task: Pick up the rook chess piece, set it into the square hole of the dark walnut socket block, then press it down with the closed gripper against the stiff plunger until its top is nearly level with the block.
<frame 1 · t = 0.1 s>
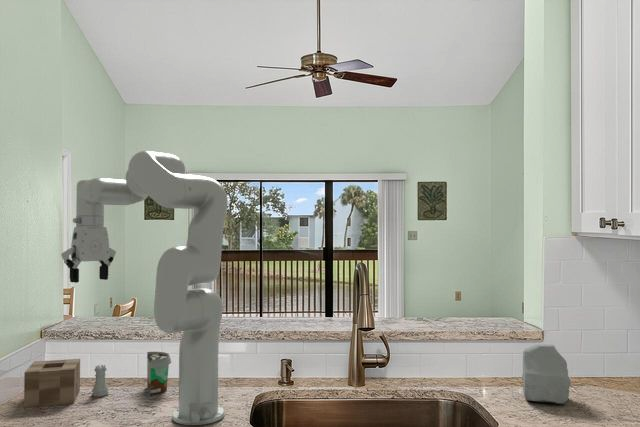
hand: (89, 280, 164), 31 cm above the countertop, tool pointing down, fingers open, 9 cm apart
food container: (159, 390, 161), on the countertop
plunger: (53, 383, 153), point 4 cm above the countertop, slide at 0.0 cm
socket block: (53, 398, 153), on the countertop
stone: (545, 400, 153), on the countertop
rook chess piece: (100, 395, 157), on the countertop
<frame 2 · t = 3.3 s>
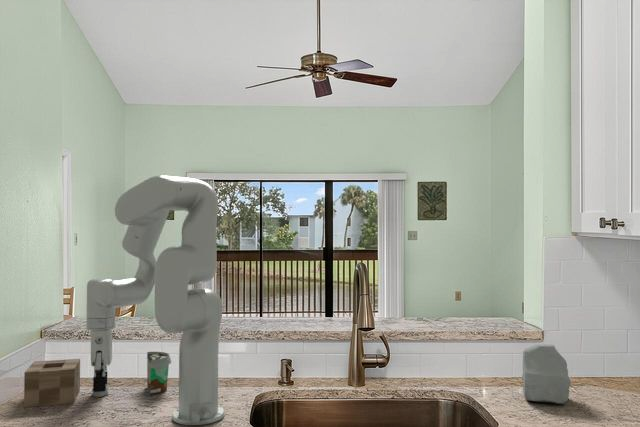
hand: (100, 388, 157), 2 cm above the countertop, tool pointing down, fingers closed on rook chess piece, 4 cm apart
rook chess piece: (100, 395, 157), on the countertop, touching gripper
everything else where it was.
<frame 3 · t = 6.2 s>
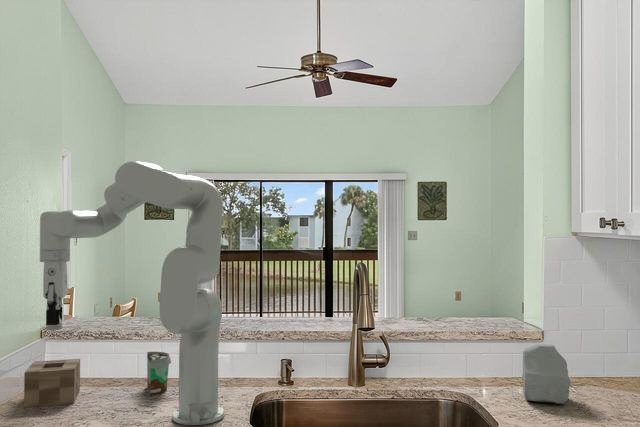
hand: (54, 322, 154), 21 cm above the countertop, tool pointing down, fingers closed on rook chess piece, 4 cm apart
rook chess piece: (54, 329, 154), point 19 cm above the countertop, touching gripper
everything else where it was.
when the fingers open (10 cm above the countertop, at t = 8.7 s): rook chess piece drops 7 cm, resting on plunger.
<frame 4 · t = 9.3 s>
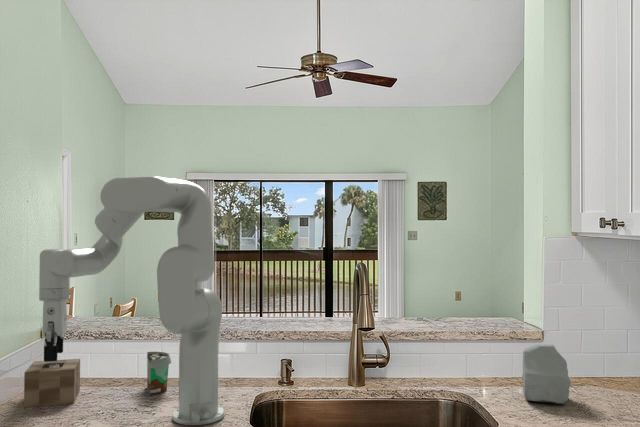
hand: (53, 356, 153), 11 cm above the countertop, tool pointing down, fingers open, 9 cm apart
plunger: (53, 396, 153), resting in socket block, slide at -3.5 cm, touching rook chess piece
rook chess piece: (53, 395, 153), point 1 cm above the countertop, touching plunger
everything else where it was.
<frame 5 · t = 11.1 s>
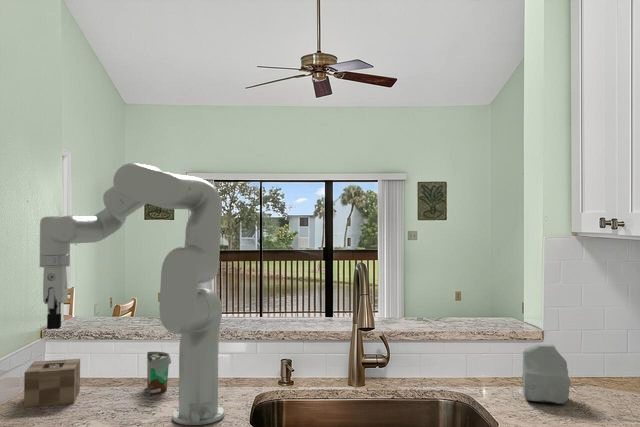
hand: (54, 328, 154), 19 cm above the countertop, tool pointing down, fingers closed
nothing on the countertop moved.
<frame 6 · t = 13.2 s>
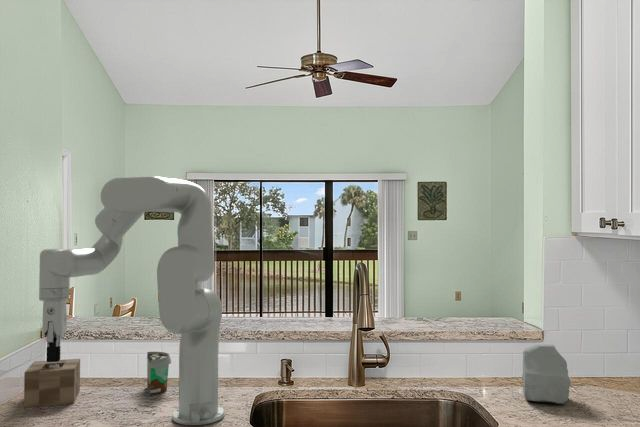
hand: (53, 361, 153), 10 cm above the countertop, tool pointing down, fingers closed
nothing on the countertop moved.
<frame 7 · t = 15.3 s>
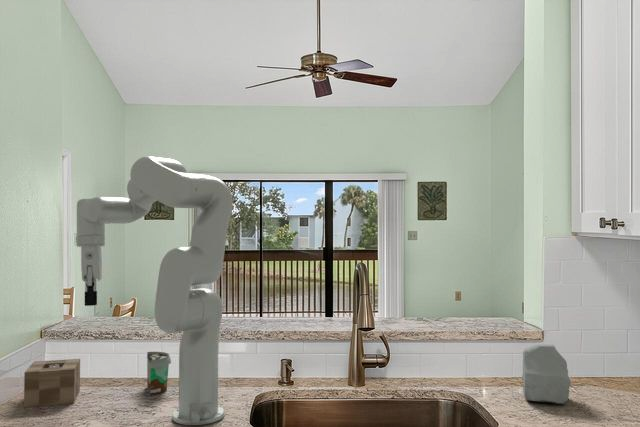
hand: (90, 305, 161), 24 cm above the countertop, tool pointing down, fingers closed
nothing on the countertop moved.
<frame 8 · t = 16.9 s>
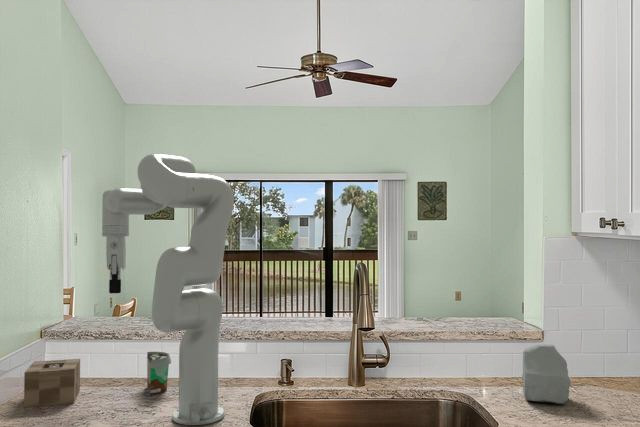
hand: (115, 292, 167), 27 cm above the countertop, tool pointing down, fingers closed
nothing on the countertop moved.
at the end: rook chess piece 0.1 cm off-centre on the socket block, point 0.8 cm above the socket block's base; plunger slide at -3.5 cm; the gripper is holding nothing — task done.
